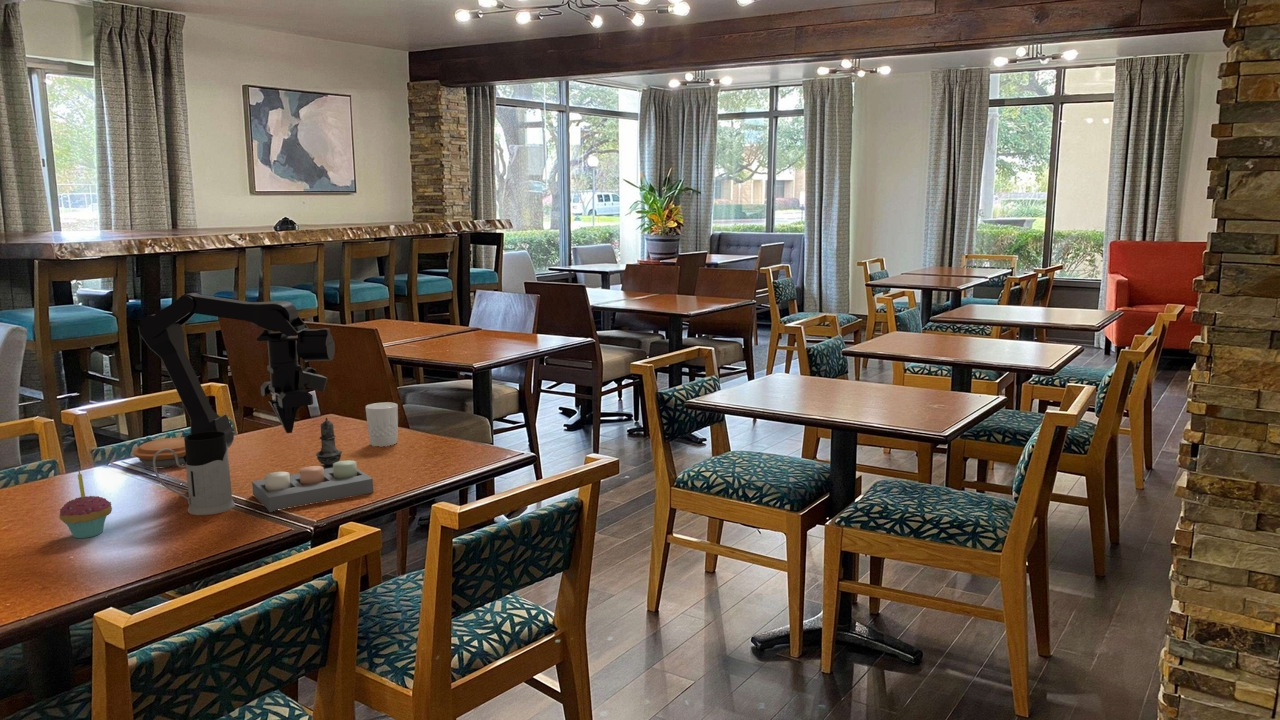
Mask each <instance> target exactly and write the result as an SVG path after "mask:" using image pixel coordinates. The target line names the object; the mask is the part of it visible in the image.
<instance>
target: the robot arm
mask: <svg viewBox="0 0 1280 720" xmlns="http://www.w3.org/2000/svg"><path fill="white" fill-rule="evenodd" d="M195 315H202V316H208V317H209V316H210V317H216V318H217V317H218V318H225V319H231V320H237V321H245V322H247V323H251V324H253V325H255V326H257V327H259V328H262V329H263V331H262V333H261V334H260V335H259V336H258V337H256V341H257V342H267V351H268V365H266V366H267V367H266V370H267V371H268V372H269V376H270V377H269V379H270V381H264V382H263V383H262V384H261V386H260V395H261V396H262V397H267V396H268V395H269V394H271V398H272V399H270V400H268V403H269V405H270V406H271V409H272V410H273V411H274V413H275V416H276V417H277V419H278V420H279V422H280V425H281V426H282V427H283V430H284V432H285V433H287V434H292V433H293V429H294V424H295V420H296V417H297V416H296V415H297V412H298V409H299V408H300V407H305V406H312V405H314V399H313V398H314V396H313V394H311V393H310V392H309V391H307V390H305V389H308V388H309V389H312V390H317V392H321V393H324V392H325V389H326V385H327V382H328V377H326V376H324V375H322V374H317V369H315V368H312V367H308V366H307V367H306V368H305V369H303V366H301V365H300V364H299V362H298V361H299V358H301V359H302V360H303V361H305V362H313V361H314V362H315V361H317V362H318V361H321V362H322V361H333V360H334V358H335V352H336V343H335V341H334V338H333V335H332V334H331V329H330V328H329V327H327V328H326V327H325V328H324V327H323V328H319V329H317V328H316V329H315V328H313V329H310V327H308V325H307V323H305V321H303V319H302V318H301V317H300V316H299V313H298V310H297V308H296V306H295V305H294V303H292V302H290V301H288V300H287V301H286V300H276V301H273V300H272V301H271V300H270V301H257V302H256V301H255V302H254V301H253V302H251V301H246V300H239V299H231V298H225V297H219V296H218V297H217V296H212V295H204V294H199V293H196V292H190V293H185V294H183V295H181V296H180V297H178V298H177V299H176V300H175V301H173V302H172V303H171V304H169V305H167V306H166V307H164V308H162V309H161V310H160V311H158V312H156V313H155V314H151V315H147V316H145V317H143V318H142V319H141V321H140V322H139V325H138V327H137V328H138V333H139V335H140V337H141V338H142V340H143V341H144V342H145V344H146V345H147V347H148V348H149V349H150V350H151V351H152V352H154V353H155V355H157V356H158V357H159V358H160V360H162V362H163V365H164V367H165V369H166V371H167V374H168V375H169V377H170V379H171V381H172V384H173V385H174V387H175V390H176V392H177V394H178V397H179V398H180V400H181V403H182V405H183V407H184V409H185V410H186V414H187V416H188V418H189V420H190V435H191V434H195V433H200V432H211V431H218V432H224V433H225V435H226V443H227V447H228V449H229V448H230V447H231V445H232V444H233V441H234V440H235V439H234V437H235V436H234V433H233V432H235V428H233V426H232V425H231V423H230V421H229V417H228V415H227V414H226V413H224V414H222V415H221V416H220V415H219V414H218V413H217V412H216V411H214V410H213V407H212V406H211V404H210V401H209V399H208V397H207V396H206V393H205V391H204V389H203V387H202V384H201V382H200V380H199V378H198V376H197V374H196V372H195V369H194V368H193V366H192V364H191V362H190V359H189V357H188V355H187V353H186V351H185V334H184V330H183V325H185V324H187V323H188V321H190V320H191V319H192V318H193V317H194V316H195ZM183 459H184V461H185V463H186V455H185V456H184V457H183Z"/></svg>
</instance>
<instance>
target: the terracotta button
mask: <svg viewBox="0 0 1280 720" xmlns="http://www.w3.org/2000/svg"><path fill="white" fill-rule="evenodd" d="M299 473H300V484H301V485H302V486H303V485H309V484H315V483H320V482H325V480H324V468H323V467H322V466H321V465H309V466H306V467H302V468H301V467H300V468H299Z"/></svg>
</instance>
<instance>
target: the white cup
mask: <svg viewBox="0 0 1280 720" xmlns="http://www.w3.org/2000/svg"><path fill="white" fill-rule="evenodd" d="M398 407H399V406H398V403H397V402H396V403H395V402H389V401H387V402H376V403H369V404H367V405H365V413H366V414H365V415H366V423H367V432H368V435H369V444H370V446H371V445H372V447H375V446H379V447H378V448H380V447H381V448H383V446H385V447H391V446H395V445H396V443H397V444H398V442H399V441H398V432H399V428H398V426H399V413H398V412H399V410H398V409H399V408H398ZM394 444H395V445H394ZM390 445H391V446H390Z"/></svg>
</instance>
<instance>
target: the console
mask: <svg viewBox="0 0 1280 720" xmlns="http://www.w3.org/2000/svg"><path fill="white" fill-rule="evenodd" d="M289 475H290V488H287V489H281V490H275V491H270V492H267V491H266V489H265V478H264V479H257V480H253V481H251V486H252V487H251V488H252V496H253V495H254V496H255V497H256V498H257V499H258V500H259V501H260V502H261V503H262V504H263V505H264V506H265V507H266V508H267V509H266V508H265V507H264V506H263V505H262V504H261V503H260V502H259V501H258V500H257V499H256V498H255V499H256V500H257V501H258V502H259V503H260V504H261V505H262V506H263V507H264V508H265V509H266V510H267V511H268V512H269V513H273V511H274V512H276V511H275V510H278V509H283V508H288V507H294V506H299V505H305V504H310V503H316V502H321V503H323V502H322V501H326V500H331V501H334V500H333V499H337V500H340V499H339V498H342V499H346V498H345V497H347V498H351V497H350V496H352V497H357V496H356V495H358V496H361V495H367V494H372V493H374V479H373V478H372V477H371V476H369V475H368V474H366V473H364V472H363V471H362V470H360V469H359V468H357V476H354V477H348V478H342V479H337V480H336V479H335V478H334V472H333V468H327V469H324V480H325V482H320V483H315V484H309V485H303V486H302V485H301V484H300V472H299V473H293V474H289ZM254 496H253V497H254ZM326 502H327V501H326ZM316 504H317V503H316ZM305 506H306V505H305Z"/></svg>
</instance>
